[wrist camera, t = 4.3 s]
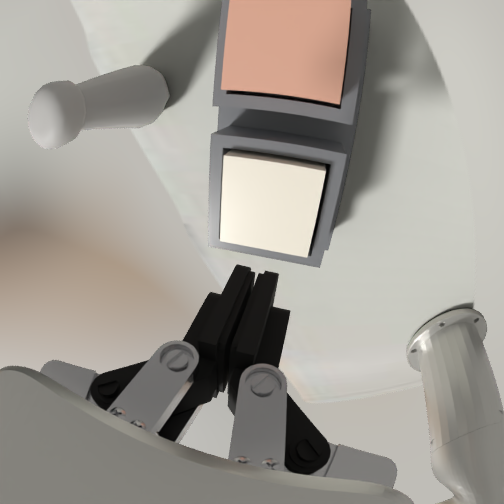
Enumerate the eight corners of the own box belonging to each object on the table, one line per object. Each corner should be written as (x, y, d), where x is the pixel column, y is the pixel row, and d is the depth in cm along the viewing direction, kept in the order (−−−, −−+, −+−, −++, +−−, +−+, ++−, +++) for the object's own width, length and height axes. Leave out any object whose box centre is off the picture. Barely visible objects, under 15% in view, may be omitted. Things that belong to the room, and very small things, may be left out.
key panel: (327, 233, 26) (328, 279, 20) (223, 214, 27) (197, 253, 21) (364, 19, 14) (382, -7, 9) (239, 4, 16) (211, -24, 10)
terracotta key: (334, 102, 15) (339, 104, 12) (238, 89, 15) (220, 89, 12) (344, 16, 11) (351, 0, 8) (246, 6, 12) (230, -10, 9)
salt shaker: (170, 56, 19) (58, 52, 8) (186, 111, 22) (82, 144, 11) (120, 80, 21) (10, 101, 10) (135, 131, 24) (31, 176, 13)
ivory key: (309, 232, 21) (307, 257, 18) (233, 218, 22) (219, 241, 19) (323, 157, 18) (325, 171, 15) (238, 144, 19) (223, 155, 16)
